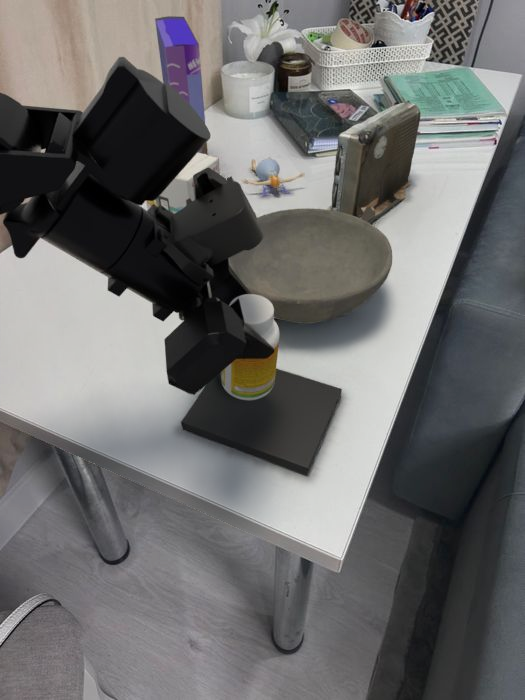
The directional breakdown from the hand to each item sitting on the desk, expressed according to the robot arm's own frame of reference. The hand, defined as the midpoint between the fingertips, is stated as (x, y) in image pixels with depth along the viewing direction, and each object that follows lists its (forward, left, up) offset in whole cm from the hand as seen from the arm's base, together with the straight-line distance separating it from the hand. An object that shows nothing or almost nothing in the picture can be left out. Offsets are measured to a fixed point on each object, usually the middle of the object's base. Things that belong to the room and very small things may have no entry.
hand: (265, 332), depth 47 cm
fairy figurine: (+8, +53, -12) cm, 55 cm away
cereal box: (-6, +57, -12) cm, 59 cm away
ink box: (-7, +38, -12) cm, 41 cm away
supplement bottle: (-2, 0, -7) cm, 7 cm away
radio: (+24, +45, -12) cm, 52 cm away
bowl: (+8, +20, -12) cm, 25 cm away
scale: (0, 0, -12) cm, 12 cm away
